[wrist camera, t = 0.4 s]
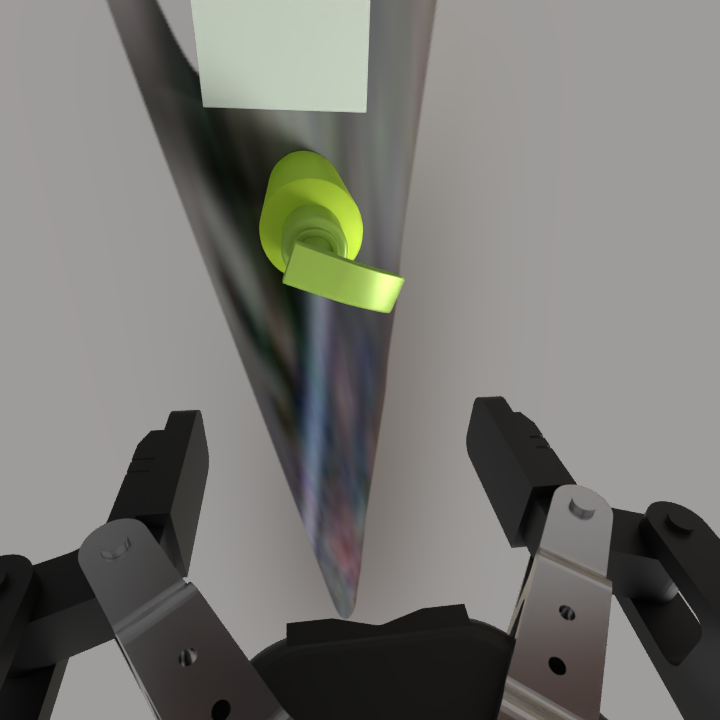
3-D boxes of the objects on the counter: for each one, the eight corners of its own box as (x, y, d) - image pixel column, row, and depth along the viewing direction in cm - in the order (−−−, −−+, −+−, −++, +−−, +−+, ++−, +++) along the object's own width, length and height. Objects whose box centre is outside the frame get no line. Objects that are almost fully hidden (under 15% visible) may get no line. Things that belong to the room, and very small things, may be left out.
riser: (191, -79, 28) (178, -102, 25) (363, -65, 30) (373, -85, 26) (212, 105, 33) (203, 107, 30) (358, 110, 35) (366, 112, 31)
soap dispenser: (338, 239, 40) (376, 353, 23) (260, 212, 38) (236, 314, 21) (363, 171, 37) (426, 241, 20) (280, 138, 35) (271, 184, 18)
